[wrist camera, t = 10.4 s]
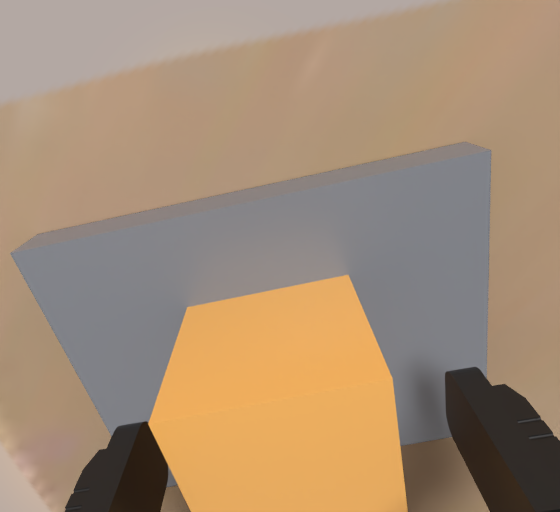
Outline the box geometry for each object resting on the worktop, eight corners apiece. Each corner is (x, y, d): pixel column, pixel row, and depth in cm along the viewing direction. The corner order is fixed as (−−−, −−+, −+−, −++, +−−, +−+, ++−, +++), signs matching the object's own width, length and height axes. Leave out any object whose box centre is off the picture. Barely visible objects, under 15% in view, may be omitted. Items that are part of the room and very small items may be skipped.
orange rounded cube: (348, 274, 12) (392, 378, 8) (367, 397, 14) (410, 529, 10) (187, 307, 12) (147, 424, 8) (229, 422, 15) (215, 561, 10)
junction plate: (465, 141, 12) (569, 175, 8) (467, 401, 17) (533, 507, 13) (37, 234, 13) (-70, 308, 9) (151, 458, 17) (117, 576, 13)
